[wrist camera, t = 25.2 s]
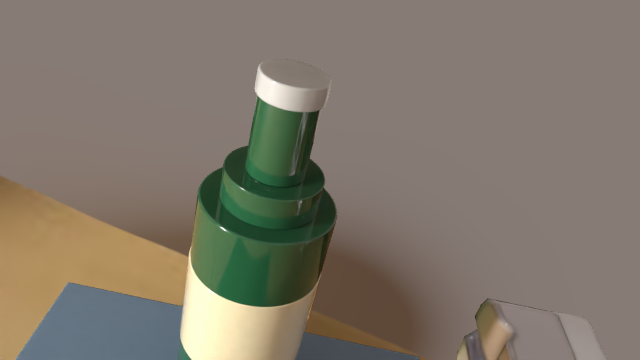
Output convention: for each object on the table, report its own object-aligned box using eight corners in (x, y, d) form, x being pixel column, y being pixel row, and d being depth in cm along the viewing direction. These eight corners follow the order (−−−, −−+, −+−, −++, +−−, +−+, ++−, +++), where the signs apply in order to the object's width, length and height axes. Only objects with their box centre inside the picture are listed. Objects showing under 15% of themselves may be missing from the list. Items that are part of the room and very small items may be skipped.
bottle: (156, 425, 28) (193, 83, 19) (190, 332, 34) (232, 30, 24) (277, 449, 29) (375, 126, 19) (291, 354, 34) (373, 64, 24)
